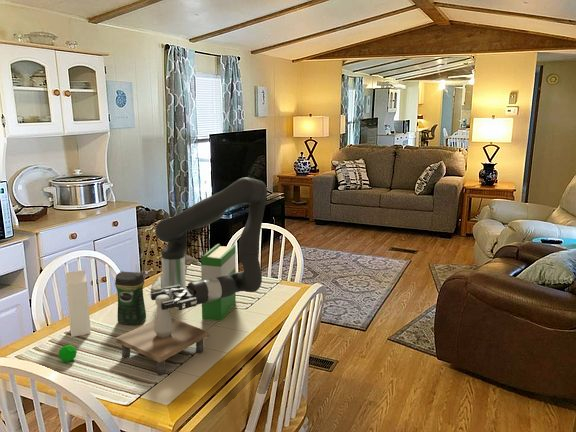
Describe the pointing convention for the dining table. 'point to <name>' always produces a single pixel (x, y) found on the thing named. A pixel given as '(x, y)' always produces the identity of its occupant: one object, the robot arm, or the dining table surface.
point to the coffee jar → (130, 298)
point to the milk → (78, 303)
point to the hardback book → (214, 266)
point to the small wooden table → (162, 342)
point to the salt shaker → (163, 318)
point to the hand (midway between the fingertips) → (156, 301)
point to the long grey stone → (158, 284)
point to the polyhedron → (67, 353)
